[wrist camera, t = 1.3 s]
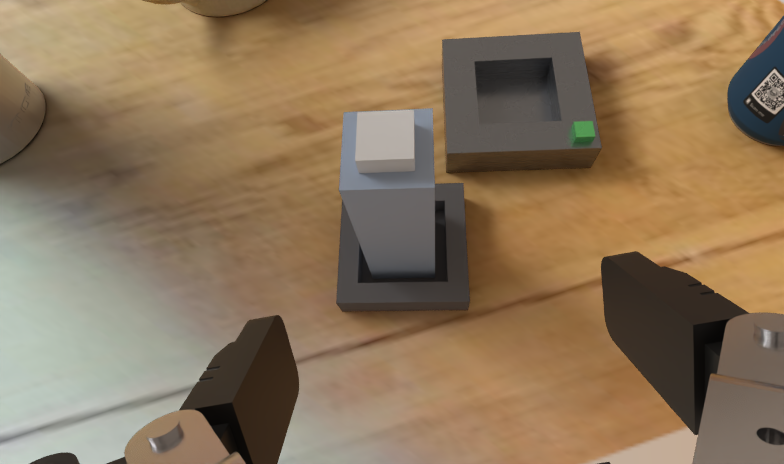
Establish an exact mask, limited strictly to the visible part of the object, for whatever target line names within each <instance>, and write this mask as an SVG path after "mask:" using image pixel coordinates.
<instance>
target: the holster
mask: <svg viewBox="0 0 784 464" xmlns="http://www.w3.org/2000/svg"><path fill="white" fill-rule="evenodd" d="M336 303H337V305H338V306H339V307H340V309H341V310H342V311H414V310H468V307H469V303H470V296H469V278H468V260H467V242H466V224H465V206H464V187H463V183H447V184H435V278H382V279H373V277H372V275H371V272H370V270H369V267H368V264H367V262H366V259H365V257H364V254H363V251H362V249H361V246H360V244H359V241H358V238H357V236H356V233H355V231H354V228H353V225H352V223H351V220H350V218H349V215H348V212H347V210H346V207H345V205H344V202H343V199H342V214H341V231H340V249H339V266H338V284H337V301H336Z"/></svg>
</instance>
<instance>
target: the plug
mask: <svg viewBox="0 0 784 464" xmlns="http://www.w3.org/2000/svg"><path fill="white" fill-rule="evenodd" d="M339 192H340V194H341V197H342V199H343V202H344V205H345V207H346V210H347V212H348V215H349V218H350V220H351V223H352V225H353V228H354V231H355V233H356V236H357V238H358V241H359V244H360V246H361V249H362V251H363V254H364V257H365V259H366V262H367V264H368V267H369V270H370V272H371V275H372V277H373V279H382V278H435V178H434V143H433V108H431V109H408V110H385V111H363V112H344V117H343V134H342V150H341V166H340V183H339Z"/></svg>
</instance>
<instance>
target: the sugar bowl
mask: <svg viewBox="0 0 784 464" xmlns="http://www.w3.org/2000/svg"><path fill="white" fill-rule="evenodd" d="M143 1H147V2H151V3H155V4H175V3H181V4H182V5H183V6H184V7H186V8H187V9H189V10H190V11H192V12H195V13H197V14H201V15H205V16H214V17H219V16H229V15H235V14H240V13H243V12H246V11H248V10H251V9H253V8H255V7H257V6H259V5H261V4H262V3H264V2H265V1H267V0H143Z"/></svg>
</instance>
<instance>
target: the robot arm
mask: <svg viewBox="0 0 784 464" xmlns="http://www.w3.org/2000/svg"><path fill="white" fill-rule="evenodd" d="M45 111H46V104H45V99H44V96H43V93H42V92H41V91H40V89H39V88H38V87H37V86H36V85H35V84H34V83H32V82H31V81H30V80H29V79H28V78H27V77H26V76H25V75H23V74H22V73H21V72H20V71H19V70H18V69H17V68H16V67H14V66H13V65H12V64H11V63H10V62H9V61H8V60H7V59H5V58H4V57H3V56H2V55H1V54H0V164H1V163H3V162H4V161H6V160H8V159H10V158H12V157H13V156H14V155H16V154H17V153H18V152H20V151H21V150H22V149H23V148H24V147H25V146H26V145H27V144H28V143H29V142H30V141H31V140H32V139H33V137H34V136H35V135H36V133H37V132H38V130H39V128H40V126H41V124H42V122H43V120H44V115H45ZM601 274H602V288H603V301H604V315H605V322H606V326H607V329H608V332H609V334H610V336H611V338H612V340H613V341H614V342H615V344H616V345H617V346H618V347H619V348H620V349H621V351H622V352H623V353H624V354H625V355H626V356H627V357H628V359H629V360H630V361H631V362H632V363H633V364H634V366H635V367H636V368H637V369H638V370H639V371H640V372H641V374H642V375H643V376H644V377H645V378H646V379H647V380H648V382H649V383H650V384H651V385H652V386H653V387H654V389H655V390H656V391H657V392H658V393H659V394H660V395H661V397H662V398H663V399H664V400H665V401H666V402H667V404H668V405H669V406H670V407H671V408H672V409H673V410H674V412H675V413H676V414H677V415H678V416H679V417H680V418H681V420H682V421H683V422H684V423H685V424H686V425H687V427H688V428H689V429H690V430H691V431H692V432H693V433H694V434H695V435H698V438H697V443H696V449H695V453H694V458H693V464H784V315H783V314H776V313H748V312H747V311H745V310H743V309H742V308H740V307H739V306H737V305H736V304H734V303H732V302H731V301H729V300H728V299H726V298H725V297H723V296H721V295H720V294H718V293H714V290H712V289H710V288H709V287H707V286H706V285H702V284H701V282H699V281H698V280H696V279H695V278H693V277H692V276H690V275H688V274H687V273H684V272H681V271H677V270H674V269H671V268H668V267H660V266H658V265H657V264H655V263H654V262H652V261H651V260H649V259H648V258H646V257H645V256H643V255H642V254H640V253H639V252H636V251H635V252H630V253H624V254H618V255H613V256H607V257H604V258H603V259H602V263H601ZM206 369H207V371H204V373H203V374H202V376H201V377H200V379H199V380H200V381H199V382H197V384H196V385H195V387H194V388H193V390H192V391H191V393H190V394H189V396H188V397H187V399H186V400H185V402H184V403H183V405H182V406H181V408H180V409H179V411H176V412H172V413H169V414H166V415H164V416H162V417H160V418H157V419H156V420H154V421H152V422H150V423H149V424H147V425H146V426H144V427H143V428H142V429H140V430H139V431H138V432H137V433H136V434H135V435H134V436H133V437H132V438H131V439H130V441H129V442H128V444H127V446H126V448H125V452H124V453H125V457H123V458H120V459H118V460H115V461H112V462H110V463H107V464H277V463H278V459H279V456H280V453H281V449H282V446H283V443H284V439H285V436H286V433H287V430H288V426H289V423H290V420H291V416H292V413H293V410H294V406H295V403H296V400H297V397H298V392H299V377H298V371H297V367H296V364H295V360H294V357H293V353H292V350H291V346H290V343H289V339H288V336H287V332H286V329H285V325H284V323H283V320H282V318H281V317H280V316H279V315H275V316H270V317H264V318H259V319H253V320H249V321H248V322H247V323H246V325H245V327H244V328H243V330H242V332H241V333H240V335H239V336H238V338H237V340H236V341H235V342H232V343H230V344H228V345H227V346H226V347H225V348H223V349H222V350H221V351H220V352H219V353H217V354H216V355H215V356H214V358H213V359H212V361H211V362H210V364H209V365H208V367H207V368H206ZM30 464H80V463H79V461H78V459H77V457H76V456H75V455H74V454H72V453H57V454H53V455H49V456H46V457H43V458H41V459H38V460H36V461H34V462H32V463H30ZM599 464H610V462H605V463H599Z"/></svg>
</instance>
